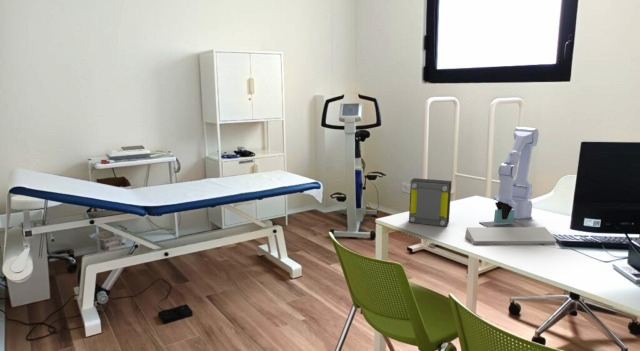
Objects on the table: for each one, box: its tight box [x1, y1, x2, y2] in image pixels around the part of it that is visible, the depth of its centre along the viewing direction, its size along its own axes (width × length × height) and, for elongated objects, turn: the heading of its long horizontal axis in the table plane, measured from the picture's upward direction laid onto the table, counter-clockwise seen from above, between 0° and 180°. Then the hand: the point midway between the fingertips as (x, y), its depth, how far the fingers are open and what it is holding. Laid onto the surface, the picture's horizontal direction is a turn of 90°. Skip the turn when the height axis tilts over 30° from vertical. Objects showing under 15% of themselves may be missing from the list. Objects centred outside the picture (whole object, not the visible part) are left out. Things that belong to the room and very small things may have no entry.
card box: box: [493, 208, 515, 224], centre depth 213 cm, size 9×2×6 cm, turn 103°
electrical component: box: [408, 177, 452, 227], centre depth 215 cm, size 18×10×20 cm, turn 68°
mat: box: [478, 219, 528, 227], centre depth 212 cm, size 18×14×1 cm
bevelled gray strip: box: [464, 226, 557, 245], centre depth 193 cm, size 34×5×10 cm
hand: (503, 218), depth 213 cm, fingers closed on card box, 2 cm apart
